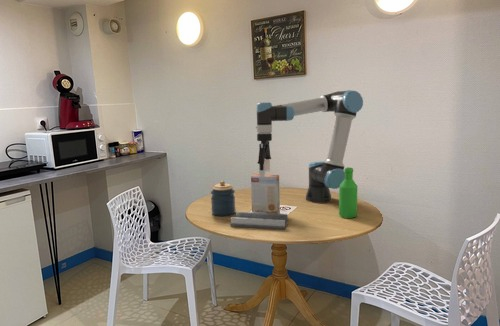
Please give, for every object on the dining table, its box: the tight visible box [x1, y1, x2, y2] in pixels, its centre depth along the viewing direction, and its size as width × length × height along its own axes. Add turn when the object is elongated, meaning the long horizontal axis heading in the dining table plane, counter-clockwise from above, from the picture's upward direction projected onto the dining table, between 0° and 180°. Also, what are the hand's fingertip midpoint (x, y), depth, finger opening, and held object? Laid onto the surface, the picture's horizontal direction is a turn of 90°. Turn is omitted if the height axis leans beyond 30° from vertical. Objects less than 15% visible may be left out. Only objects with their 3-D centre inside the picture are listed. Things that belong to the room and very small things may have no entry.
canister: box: [210, 180, 236, 217], centre depth 185 cm, size 13×13×18 cm
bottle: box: [338, 167, 358, 219], centre depth 174 cm, size 9×9×25 cm
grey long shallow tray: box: [230, 211, 289, 231], centre depth 167 cm, size 26×12×4 cm, turn 76°
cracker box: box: [250, 173, 281, 214], centre depth 181 cm, size 14×6×21 cm, turn 71°
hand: (264, 173), depth 179 cm, fingers open, 13 cm apart
